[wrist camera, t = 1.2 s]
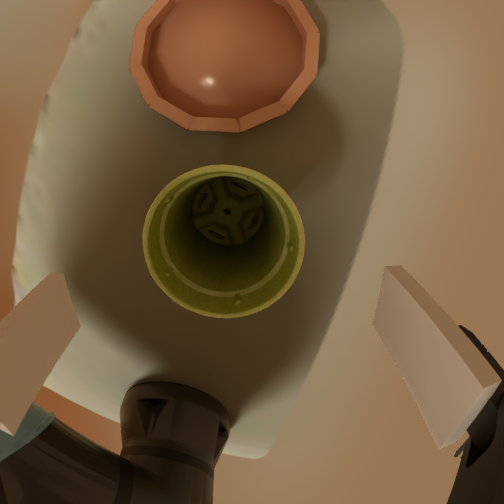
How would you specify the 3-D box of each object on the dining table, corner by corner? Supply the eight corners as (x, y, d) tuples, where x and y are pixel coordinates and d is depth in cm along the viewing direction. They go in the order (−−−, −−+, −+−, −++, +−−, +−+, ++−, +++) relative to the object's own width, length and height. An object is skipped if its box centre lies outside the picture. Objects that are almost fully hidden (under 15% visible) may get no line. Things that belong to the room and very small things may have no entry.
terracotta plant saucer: (246, 164, 23) (246, 168, 21) (111, 83, 20) (98, 79, 17) (342, 40, 19) (352, 32, 16) (207, -34, 15) (204, -48, 13)
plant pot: (303, 182, 24) (334, 207, 16) (257, 276, 27) (263, 336, 19) (198, 137, 22) (173, 138, 14) (160, 239, 25) (126, 287, 17)
